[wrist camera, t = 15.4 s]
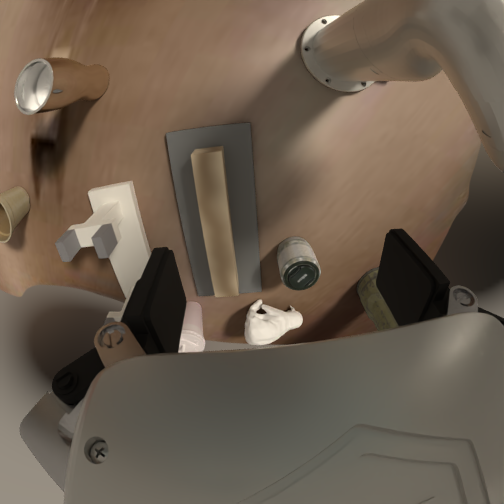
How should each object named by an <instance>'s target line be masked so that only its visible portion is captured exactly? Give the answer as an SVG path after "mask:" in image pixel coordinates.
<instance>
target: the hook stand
mask: <svg viewBox="0 0 504 504" xmlns="http://www.w3.org/2000/svg"><path fill="white" fill-rule="evenodd" d="M88 195H89V199H90V202H91V205H92V209H93V212H94V214H93V215H92V216H91V217H90V218H89V219H88V220H87V221H86V222H85V223H83V224H77V225H72V226H71V227H70V228H69V229H68V230H67V231H66V232H65V233H64V234H63V235H62V236H61V237H60V238H59V239H58V240H57V242H56V243H55V245H56V247H57V249H58V252H59V254H60V256H61V259H62V261H63V262H68V261H71V260H72V259H73V257H74V256H75V255H76V254H77V252H78V251H79V250H80V248H81V247H89V246H94V247H95V250H96V252H97V255H98V257H99V259H100V258H109V259H110V261H111V264H112V266H113V269H114V271H115V274H116V276H117V279H118V281H119V284H120V286H121V288H122V291H123V293H124V295H125V297H126V300H125V303H124V305H123V307H122V310H121V311H119V312H109V313H108V315H107V318H106V320H105V322H104V325H106V324H108V323H110V322H120V321H121V318H122V315H123V313H124V310H125V308H126V305H127V303H128V301H129V298H130V296H131V293H132V291H133V289H134V286H135V284H136V282H137V281H138V280H139V279H140V278H141V276H142V274H143V271H144V269H145V267H146V264H147V262H148V260H149V258H150V256H151V251H150V248H149V244H148V241H147V237H146V234H145V230H144V226H143V223H142V219H141V215H140V211H139V207H138V203H137V199H136V195H135V190H134V186H133V182H132V181H128V182H123V183H118V184H113V185H108V186H103V187H98V188H94V189H91V190H90V191H89V192H88ZM104 325H103V326H104Z"/></svg>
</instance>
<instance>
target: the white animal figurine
mask: <svg viewBox="0 0 504 504" xmlns="http://www.w3.org/2000/svg"><path fill="white" fill-rule="evenodd" d="M261 305H262V300H261V299H260V300H257V301H256V302H255V303H254V304H253V305H251V306H250V309H249V311H248V314H247V316H246V317H247V319H246V322H245V334H244V335H245V338H246V341H247V342H248V343H249V344H250V345H265V344H269V343H271V342H273V341H275V340H277V339H278V338H280V336H281V335H284V334H285V332H286V331H288V330H289V329H295V328H298V327H300V326H301V324H302V322H303V318H302V315H301V314H300V313H299V312H297V311H295V309H294V308H293V307H291V306H290V307H291V308H292V309H290V310H288V311H287V312H284V311H282V310H278V309H276V308H273V307H270V306H268V305H264V304H263V305H262V306H261ZM261 307H262V309H263V310H265V311H266V312H267V313H266V314H264V315H263V314H258V313H256V311H258V310H259V309H260V308H261Z"/></svg>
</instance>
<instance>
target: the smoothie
mask: <svg viewBox="0 0 504 504" xmlns="http://www.w3.org/2000/svg"><path fill="white" fill-rule="evenodd" d="M204 347H205V340H204V338H203V324H202V307H201V305H200V304H199V303H197V302H194V301H189V302H186V310H185V316H184V321H183V327H182V332H181V338H180V344H179V350H178V352H179V353H180V352H202V351H203V350H204Z"/></svg>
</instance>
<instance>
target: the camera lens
mask: <svg viewBox="0 0 504 504" xmlns="http://www.w3.org/2000/svg"><path fill="white" fill-rule="evenodd" d="M277 262H278V266H279V271H280V275H281V280H282V282H283V284H284V285H285V286H286V287H288V288H290V289H292V290H305V289H308V288H310V287H311V286H313V285H314V284H315V283H316V282H317V281H318V279H319V277H320V273H321V269H320V266H319V264H318V261H317V259H316V257H315V254H314V252H313V249H312V247H311V246H310V245H309V243H308V242H307V241H305V239H303V238H301V237H289V238H287V239H285V240H284V241H282V243H280V244H279V247H278V251H277Z"/></svg>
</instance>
